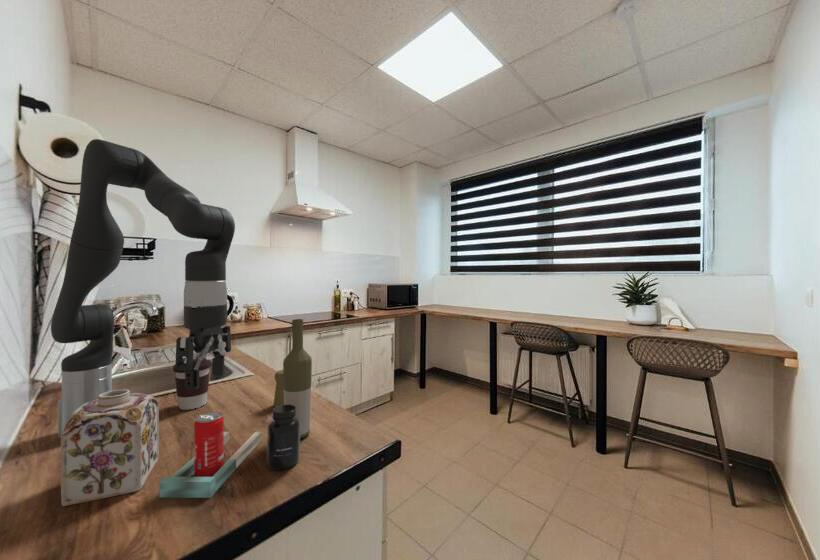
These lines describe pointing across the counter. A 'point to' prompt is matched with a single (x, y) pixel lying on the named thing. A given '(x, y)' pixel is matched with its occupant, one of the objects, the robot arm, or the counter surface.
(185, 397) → the coffee cup
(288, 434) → the supplement bottle
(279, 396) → the cork
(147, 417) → the decorative jar
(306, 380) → the bottle
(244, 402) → the counter surface
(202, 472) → the beverage can
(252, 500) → the counter surface
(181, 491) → the beam
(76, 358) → the robot arm
